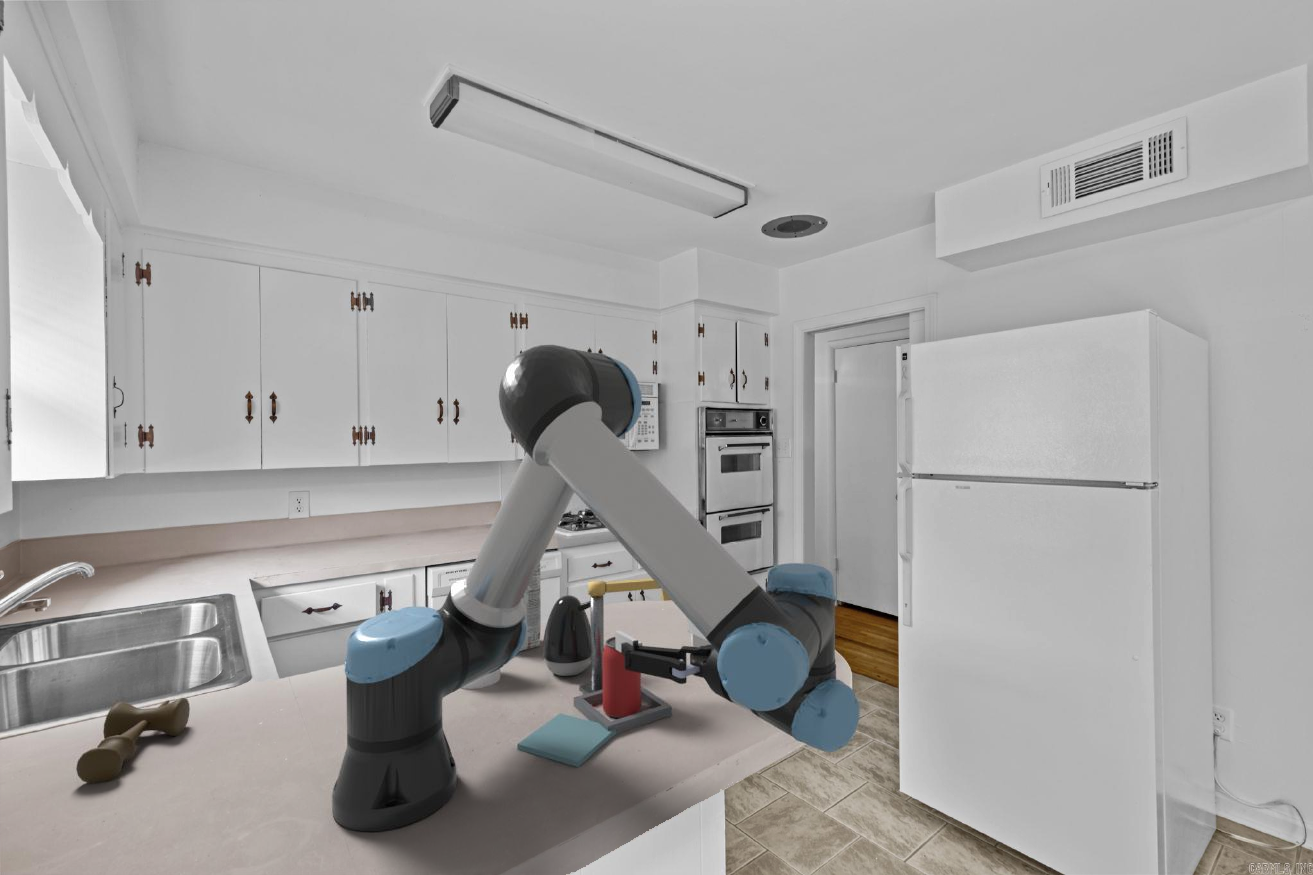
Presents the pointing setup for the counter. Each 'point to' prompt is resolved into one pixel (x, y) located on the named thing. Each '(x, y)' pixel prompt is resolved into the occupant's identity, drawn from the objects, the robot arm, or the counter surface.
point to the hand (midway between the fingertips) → (654, 631)
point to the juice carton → (532, 612)
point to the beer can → (619, 684)
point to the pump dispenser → (567, 637)
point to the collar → (625, 723)
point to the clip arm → (623, 587)
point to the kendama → (129, 736)
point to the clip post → (596, 645)
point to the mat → (566, 739)
